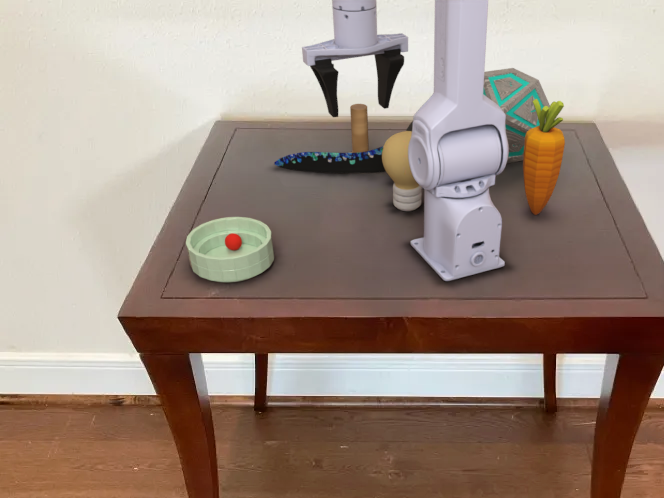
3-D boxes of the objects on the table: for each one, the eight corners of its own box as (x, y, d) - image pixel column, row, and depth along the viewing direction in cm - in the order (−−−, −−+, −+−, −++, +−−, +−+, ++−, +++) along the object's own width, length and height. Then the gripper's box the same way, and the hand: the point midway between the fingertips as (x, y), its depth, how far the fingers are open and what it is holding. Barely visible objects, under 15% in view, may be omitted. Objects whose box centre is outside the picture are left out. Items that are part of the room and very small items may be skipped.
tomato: (245, 251, 87) (242, 236, 86) (228, 255, 86) (225, 240, 85) (240, 243, 88) (238, 228, 87) (224, 247, 88) (221, 232, 86)
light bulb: (400, 223, 93) (399, 147, 87) (374, 203, 97) (371, 130, 91) (440, 210, 96) (443, 136, 90) (413, 191, 100) (414, 119, 94)
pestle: (377, 163, 107) (375, 108, 102) (354, 167, 106) (351, 112, 101) (367, 153, 110) (365, 100, 105) (345, 158, 108) (342, 104, 103)
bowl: (285, 273, 84) (281, 247, 82) (202, 293, 81) (196, 266, 79) (261, 235, 91) (257, 210, 89) (183, 253, 88) (178, 227, 85)
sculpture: (526, 174, 121) (519, 186, 93) (454, 137, 122) (426, 137, 94) (565, 100, 117) (571, 89, 89) (491, 61, 117) (472, 38, 89)
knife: (487, 176, 101) (486, 144, 98) (483, 185, 98) (482, 153, 96) (285, 173, 109) (279, 144, 106) (277, 182, 107) (270, 152, 104)
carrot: (509, 209, 96) (521, 94, 86) (543, 203, 97) (557, 89, 88) (527, 226, 92) (541, 109, 83) (561, 220, 94) (579, 103, 84)
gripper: (392, -8, 99) (393, 93, 108) (290, 4, 95) (300, 108, 103) (415, 5, 95) (414, 109, 103) (309, 18, 90) (317, 126, 99)
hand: (358, 110), depth 103 cm, fingers open, 7 cm apart
